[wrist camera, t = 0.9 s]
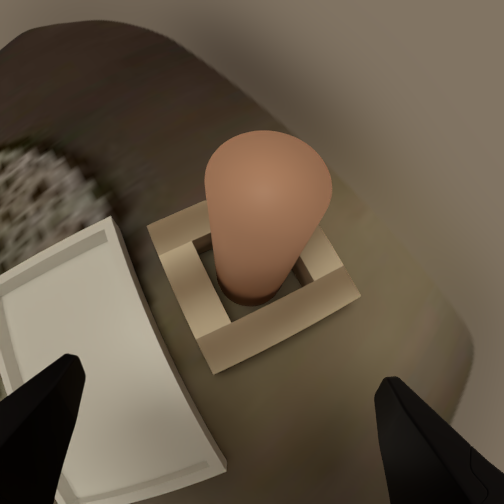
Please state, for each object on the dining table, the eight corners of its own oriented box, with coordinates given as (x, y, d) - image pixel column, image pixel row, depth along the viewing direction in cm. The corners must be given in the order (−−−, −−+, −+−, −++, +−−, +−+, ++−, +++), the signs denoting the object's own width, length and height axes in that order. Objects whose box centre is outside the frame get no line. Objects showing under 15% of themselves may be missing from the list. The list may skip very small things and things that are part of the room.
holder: (346, 304, 24) (361, 296, 21) (215, 373, 22) (213, 374, 19) (278, 189, 27) (283, 169, 24) (155, 241, 25) (146, 225, 22)
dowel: (293, 287, 24) (355, 206, 12) (234, 317, 23) (240, 259, 11) (263, 233, 26) (291, 118, 13) (206, 259, 24) (185, 154, 12)
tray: (226, 461, 19) (226, 471, 17) (78, 505, 16) (65, 515, 14) (120, 229, 25) (110, 216, 22) (-3, 293, 22) (-19, 286, 19)
